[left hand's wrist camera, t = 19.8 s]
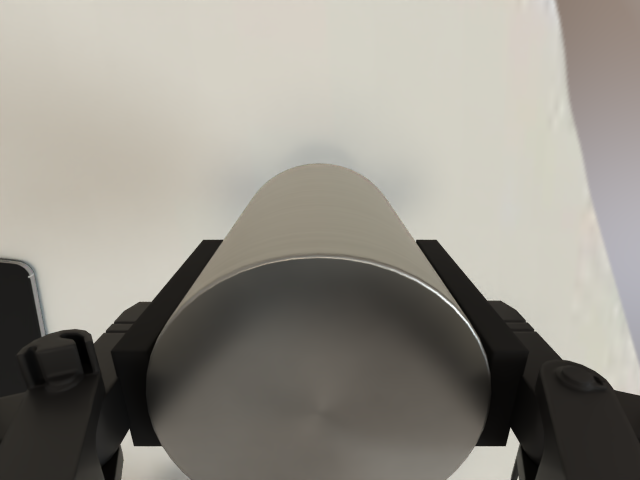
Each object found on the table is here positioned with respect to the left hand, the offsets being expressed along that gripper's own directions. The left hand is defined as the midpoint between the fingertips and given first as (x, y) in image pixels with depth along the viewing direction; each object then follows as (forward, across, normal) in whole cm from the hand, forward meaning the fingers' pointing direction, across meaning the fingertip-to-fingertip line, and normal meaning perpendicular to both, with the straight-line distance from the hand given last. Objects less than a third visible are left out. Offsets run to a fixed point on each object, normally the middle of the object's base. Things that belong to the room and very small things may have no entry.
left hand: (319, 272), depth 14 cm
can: (+3, 0, 0) cm, 3 cm away
